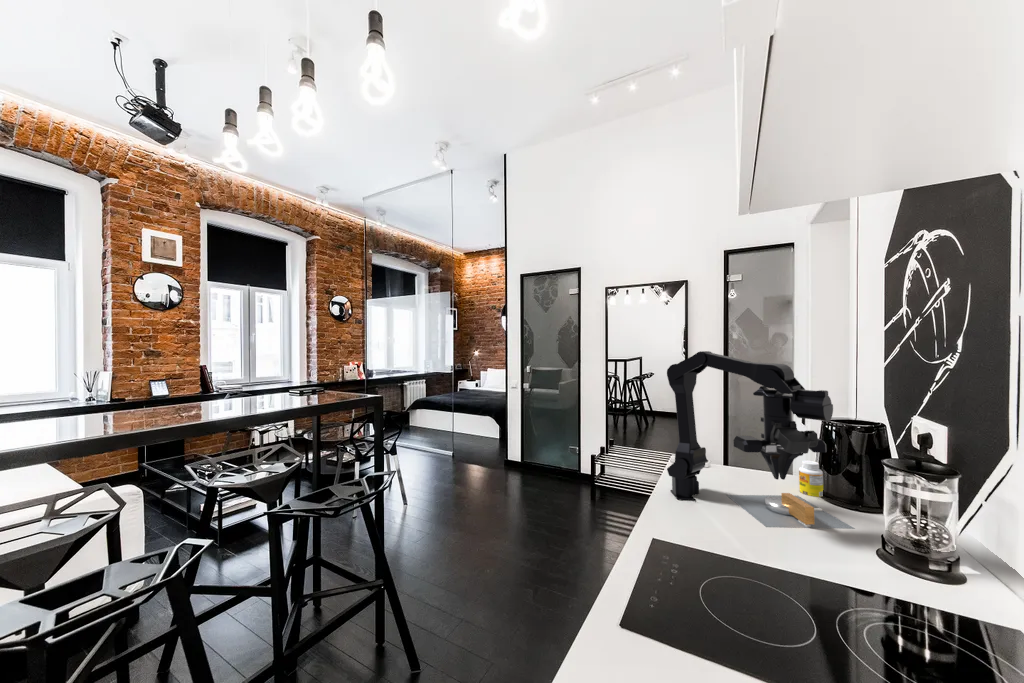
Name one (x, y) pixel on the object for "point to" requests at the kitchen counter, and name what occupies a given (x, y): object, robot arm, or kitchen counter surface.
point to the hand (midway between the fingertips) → (779, 479)
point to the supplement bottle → (811, 479)
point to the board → (771, 519)
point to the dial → (790, 507)
